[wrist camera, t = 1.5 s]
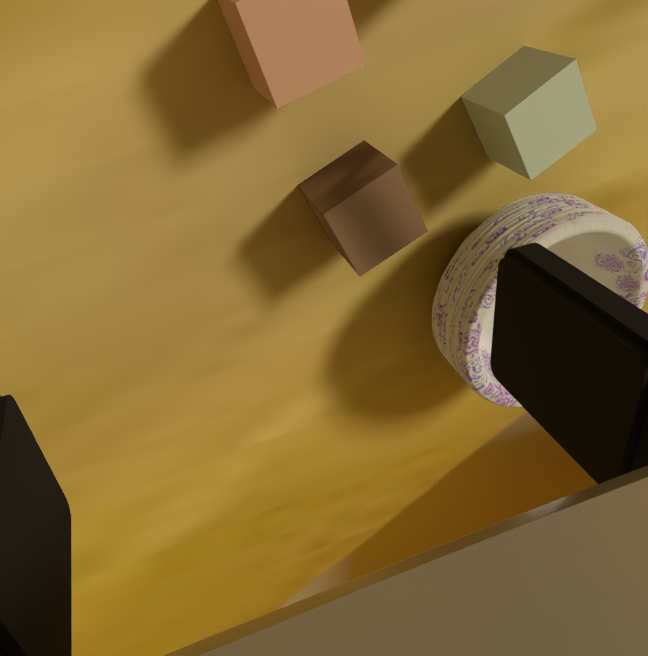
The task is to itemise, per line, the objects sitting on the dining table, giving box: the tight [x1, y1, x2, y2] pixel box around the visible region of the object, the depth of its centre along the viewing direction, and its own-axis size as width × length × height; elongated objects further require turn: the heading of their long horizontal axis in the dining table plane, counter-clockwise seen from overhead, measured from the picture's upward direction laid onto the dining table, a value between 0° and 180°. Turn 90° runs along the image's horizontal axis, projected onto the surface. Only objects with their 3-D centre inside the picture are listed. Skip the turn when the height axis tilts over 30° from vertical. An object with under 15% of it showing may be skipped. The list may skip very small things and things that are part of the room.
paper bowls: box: [432, 192, 648, 407], centre depth 44 cm, size 15×15×8 cm
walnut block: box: [298, 141, 427, 276], centre depth 37 cm, size 5×5×5 cm
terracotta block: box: [217, 0, 366, 109], centre depth 30 cm, size 5×5×5 cm
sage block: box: [460, 46, 597, 180], centre depth 37 cm, size 5×5×5 cm
